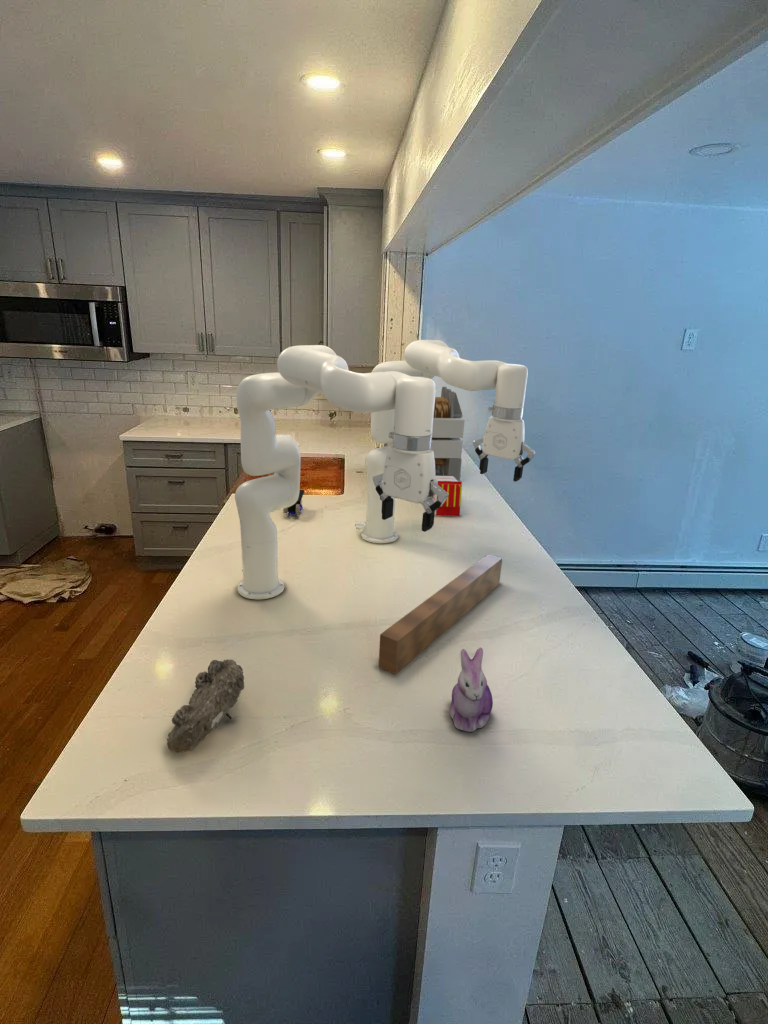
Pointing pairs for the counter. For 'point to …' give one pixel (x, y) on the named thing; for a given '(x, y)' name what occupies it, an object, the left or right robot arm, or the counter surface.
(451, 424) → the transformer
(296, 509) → the figurine character
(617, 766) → the counter surface
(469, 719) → the figurine
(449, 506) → the red striped box
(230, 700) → the fossil
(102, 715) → the counter surface
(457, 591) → the bar
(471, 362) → the right robot arm
